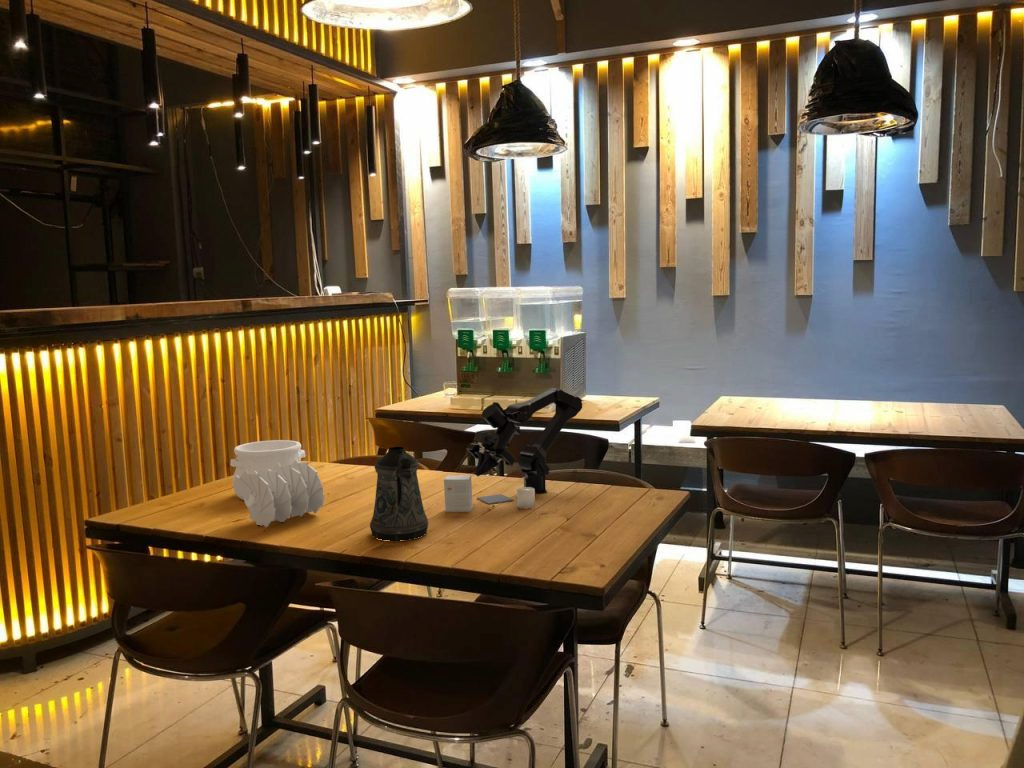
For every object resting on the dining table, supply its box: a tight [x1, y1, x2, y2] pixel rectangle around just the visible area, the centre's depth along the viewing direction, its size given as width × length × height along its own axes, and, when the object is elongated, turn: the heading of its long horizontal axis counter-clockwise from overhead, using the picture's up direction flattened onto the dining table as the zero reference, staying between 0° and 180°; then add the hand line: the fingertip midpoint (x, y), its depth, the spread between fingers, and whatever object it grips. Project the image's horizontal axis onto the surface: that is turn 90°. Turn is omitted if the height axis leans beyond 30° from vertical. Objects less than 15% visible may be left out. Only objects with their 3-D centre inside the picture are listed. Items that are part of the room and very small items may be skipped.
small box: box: [443, 475, 473, 513], centre depth 260 cm, size 8×6×10 cm
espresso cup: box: [516, 486, 536, 510], centre depth 264 cm, size 6×8×6 cm
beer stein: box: [369, 446, 429, 541], centre depth 234 cm, size 16×19×25 cm
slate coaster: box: [476, 493, 514, 505], centre depth 272 cm, size 9×9×1 cm
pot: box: [230, 439, 306, 501], centre depth 286 cm, size 26×24×18 cm
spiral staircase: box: [232, 460, 326, 528], centre depth 253 cm, size 18×18×25 cm
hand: (476, 475), depth 265 cm, fingers closed
